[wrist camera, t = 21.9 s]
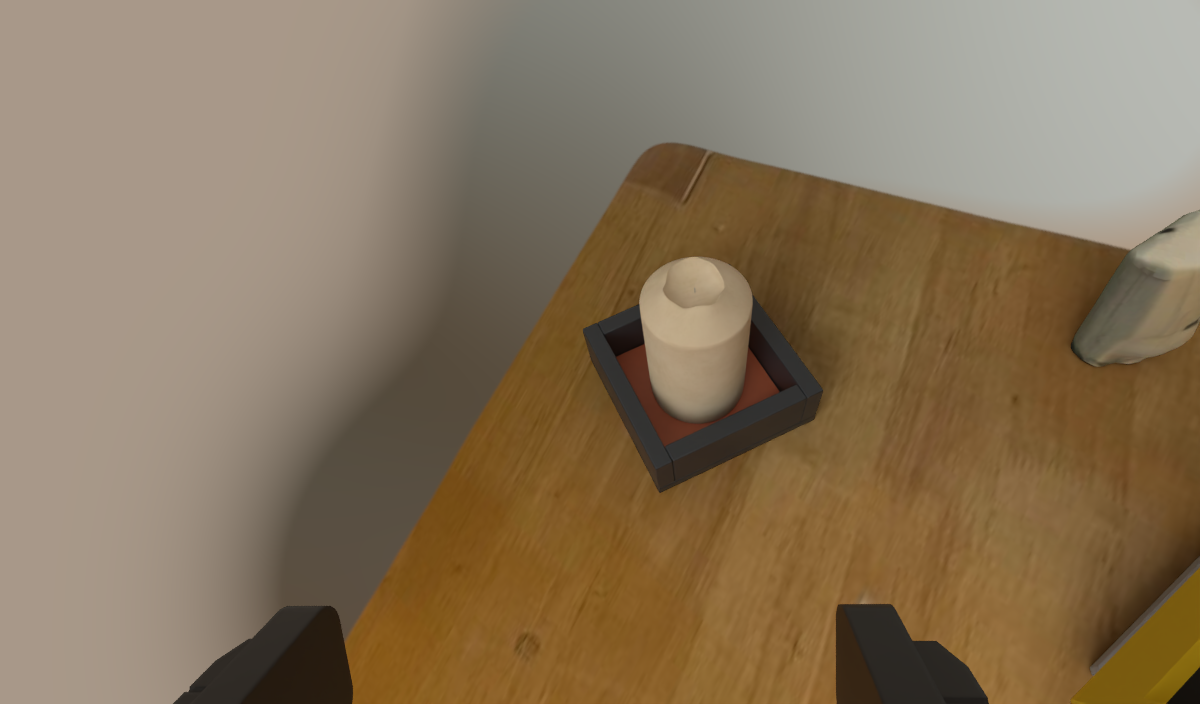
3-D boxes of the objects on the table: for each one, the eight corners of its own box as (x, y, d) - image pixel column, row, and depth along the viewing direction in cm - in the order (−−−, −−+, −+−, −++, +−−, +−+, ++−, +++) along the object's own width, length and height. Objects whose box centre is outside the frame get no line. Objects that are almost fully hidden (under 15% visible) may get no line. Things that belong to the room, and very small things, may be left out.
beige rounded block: (1067, 284, 40) (1140, 188, 33) (1167, 306, 38) (1266, 210, 31) (1056, 358, 37) (1133, 271, 31) (1163, 386, 36) (1269, 300, 29)
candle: (760, 405, 37) (775, 305, 29) (671, 438, 37) (662, 346, 29) (720, 333, 40) (724, 222, 32) (638, 363, 40) (620, 259, 32)
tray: (659, 493, 36) (655, 469, 33) (590, 359, 42) (582, 328, 39) (814, 419, 37) (823, 390, 34) (728, 298, 43) (729, 263, 40)
